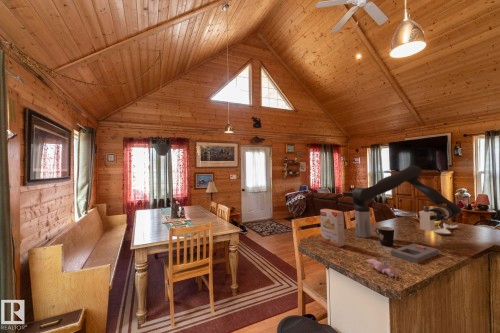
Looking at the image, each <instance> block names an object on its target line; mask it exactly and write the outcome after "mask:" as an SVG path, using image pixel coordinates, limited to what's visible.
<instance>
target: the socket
mask: <svg viewBox="0 0 500 333" xmlns="http://www.w3.org/2000/svg"><path fill="white" fill-rule="evenodd" d="M439 254H440V250H439V249H438V248H433V247H430V246H426V245H422V244H417V243H411V244H407V245H404V246H402V247H399V248H395V249H392V250H390V256H392V257H394V258H398V259H400V260H404V261H408V262H411V263H414V264H420V263H421V262H423V261H427V260H428V259H429V260H430V259H431V258H434V257H436V256H438V255H439Z"/></svg>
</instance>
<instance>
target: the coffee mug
mask: <svg viewBox="0 0 500 333" xmlns="http://www.w3.org/2000/svg"><path fill="white" fill-rule="evenodd" d="M374 230H375V233H376V235H377V236H378V238H379V242H380V245H381V246H382V247H387V248H388V247H389V248H390V247H391V248H392V247H393V246H394V240H395V228H393V227H390V226H378V227H376V228H375V229H374Z"/></svg>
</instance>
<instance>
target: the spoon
mask: <svg viewBox="0 0 500 333" xmlns="http://www.w3.org/2000/svg"><path fill="white" fill-rule="evenodd" d="M442 225H443V228H439V229H435V230H433V232H434V233H436V234H439V235H450V234H452V232H451V231H450V230H448V229H452V230H453V229H456V228H457V227H459V226H460V225H459V224H455V225H454V224H453V225H452V224H450V225H449V224H447V223H445V222H443V224H442Z"/></svg>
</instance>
